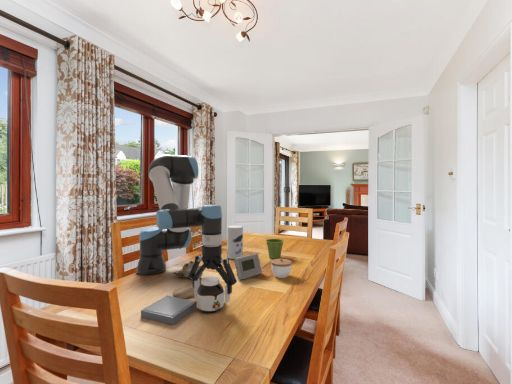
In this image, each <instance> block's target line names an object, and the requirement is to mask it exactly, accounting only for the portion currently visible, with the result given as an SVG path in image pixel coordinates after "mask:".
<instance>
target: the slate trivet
mask: <svg viewBox="0 0 512 384" xmlns="http://www.w3.org/2000/svg"><path fill="white" fill-rule="evenodd" d="M197 308H198V305H197V300H191V299H188V298H187V299H182V298H177V297H173V295H172V296H171V295H165V296H164V297H162V298H160V299H159V300H156V301H155V302H152V303H151V304H150V305H148V306H146V307H144V308H142V309H141V310H140V317H141V318H142V319H147V320H150V321H154V322H159V323H164V324H166V325H170V326H174V325H175V324H177V323H178V322H179V321H180V320H182V319H184V318H185V317H187V315H189V314H190V313H192V311H194V310H195V309H197Z"/></svg>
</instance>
